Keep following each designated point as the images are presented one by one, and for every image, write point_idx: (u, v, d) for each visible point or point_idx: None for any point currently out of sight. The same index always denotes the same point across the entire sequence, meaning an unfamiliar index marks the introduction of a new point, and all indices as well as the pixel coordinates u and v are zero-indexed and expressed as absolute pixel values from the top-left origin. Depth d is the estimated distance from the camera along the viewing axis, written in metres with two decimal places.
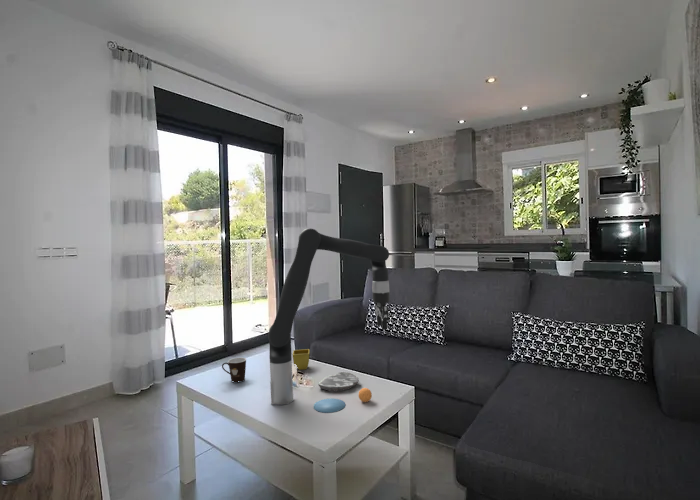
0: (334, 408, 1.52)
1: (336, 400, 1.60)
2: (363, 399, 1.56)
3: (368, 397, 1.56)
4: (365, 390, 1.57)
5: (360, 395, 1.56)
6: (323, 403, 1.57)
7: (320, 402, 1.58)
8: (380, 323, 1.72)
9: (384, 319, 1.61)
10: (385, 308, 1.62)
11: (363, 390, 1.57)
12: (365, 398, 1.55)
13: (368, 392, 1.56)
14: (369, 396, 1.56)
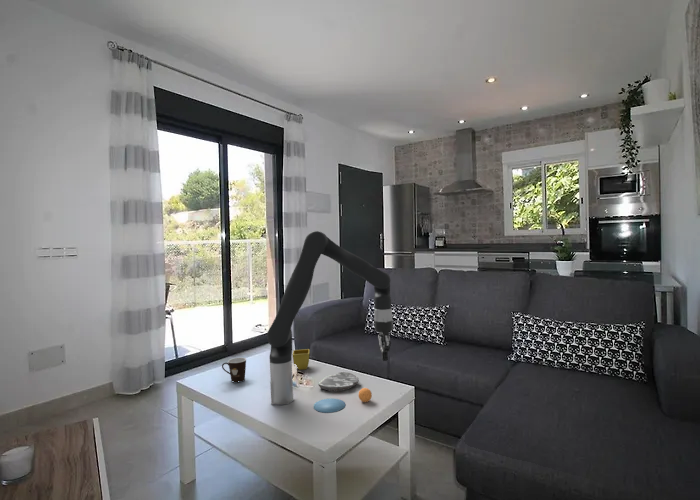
0: (334, 408, 1.52)
1: (336, 400, 1.60)
2: (363, 399, 1.56)
3: (368, 397, 1.56)
4: (365, 390, 1.57)
5: (360, 395, 1.56)
6: (323, 403, 1.57)
7: (320, 402, 1.58)
8: None
9: (384, 350, 1.56)
10: (387, 344, 1.53)
11: (363, 390, 1.57)
12: (365, 398, 1.55)
13: (368, 392, 1.56)
14: (369, 396, 1.56)
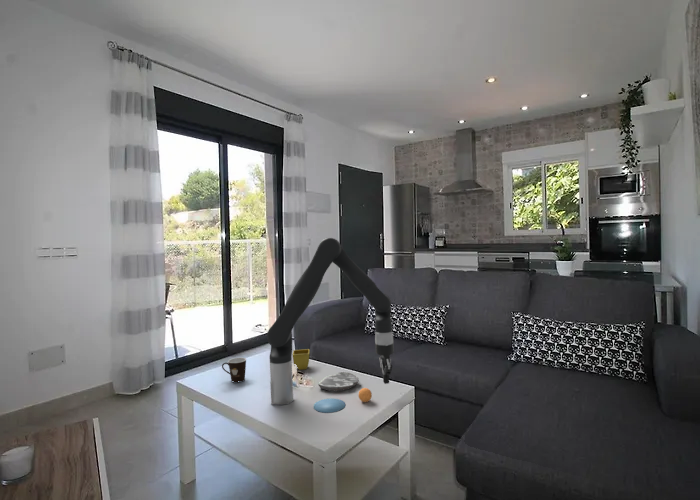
0: (334, 408, 1.52)
1: (336, 400, 1.60)
2: (363, 399, 1.56)
3: (368, 397, 1.56)
4: (365, 390, 1.57)
5: (360, 395, 1.56)
6: (323, 403, 1.57)
7: (320, 402, 1.58)
8: None
9: (386, 373, 1.56)
10: (389, 368, 1.53)
11: (363, 390, 1.57)
12: (365, 398, 1.55)
13: (368, 392, 1.56)
14: (369, 396, 1.56)
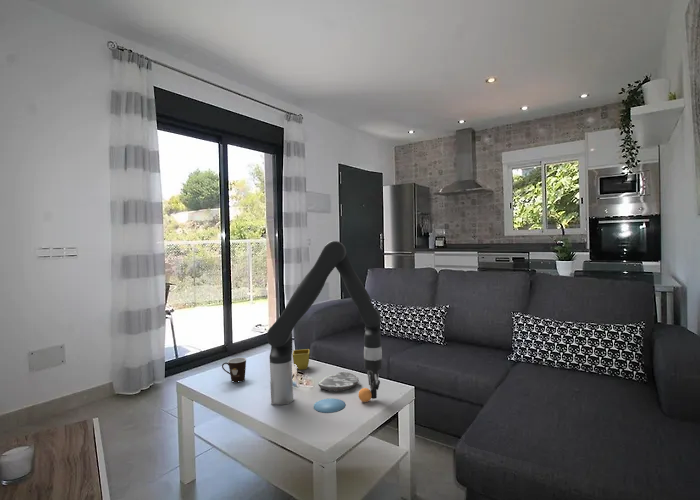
0: (334, 408, 1.52)
1: (336, 400, 1.60)
2: (363, 399, 1.56)
3: (368, 397, 1.56)
4: (365, 390, 1.57)
5: (360, 395, 1.56)
6: (323, 403, 1.57)
7: (320, 402, 1.58)
8: None
9: (373, 389, 1.56)
10: (376, 383, 1.53)
11: (363, 390, 1.57)
12: (365, 398, 1.55)
13: (368, 392, 1.56)
14: (369, 396, 1.56)
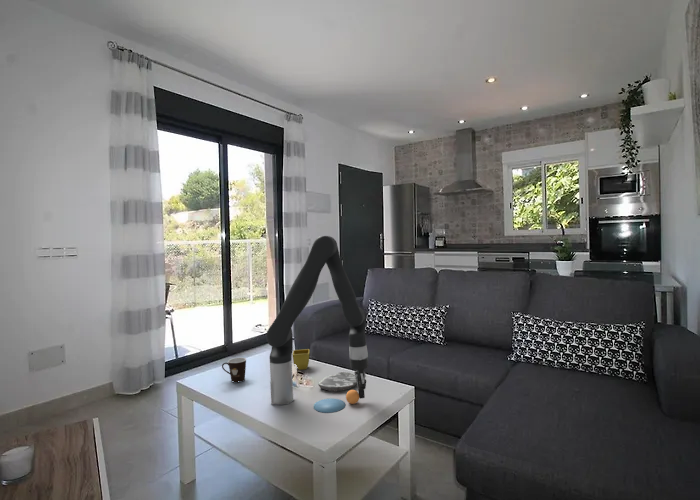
0: (334, 408, 1.52)
1: (336, 400, 1.60)
2: (355, 402, 1.55)
3: (354, 397, 1.54)
4: (347, 398, 1.55)
5: (351, 403, 1.55)
6: (323, 403, 1.57)
7: (320, 402, 1.58)
8: None
9: (360, 388, 1.54)
10: (363, 382, 1.51)
11: (347, 399, 1.55)
12: (354, 400, 1.54)
13: (349, 396, 1.54)
14: (353, 396, 1.54)
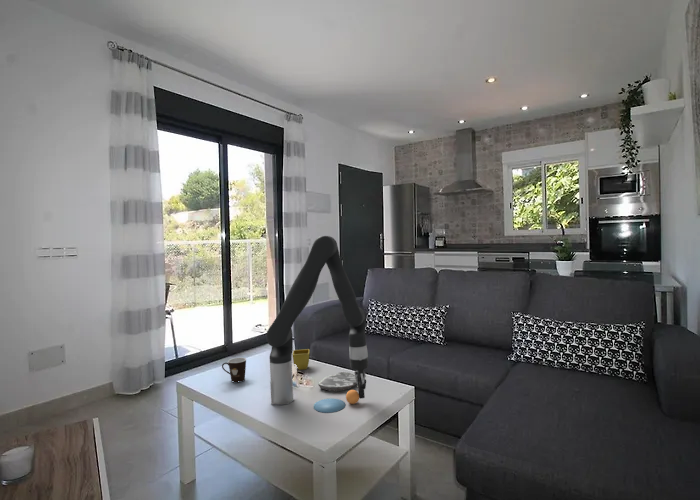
0: (334, 408, 1.52)
1: (336, 400, 1.60)
2: (355, 402, 1.55)
3: (354, 397, 1.54)
4: (347, 398, 1.55)
5: (351, 403, 1.55)
6: (323, 403, 1.57)
7: (320, 402, 1.58)
8: None
9: (360, 388, 1.54)
10: (363, 382, 1.51)
11: (347, 399, 1.55)
12: (354, 401, 1.54)
13: (349, 396, 1.54)
14: (353, 396, 1.54)
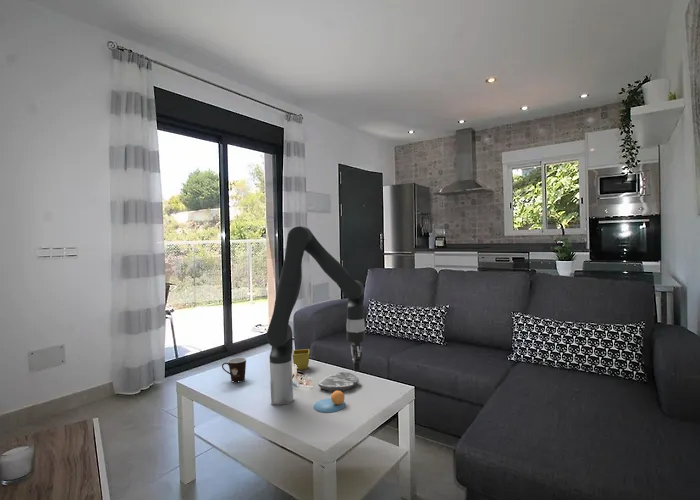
0: (334, 408, 1.52)
1: None
2: (339, 395, 1.54)
3: (336, 400, 1.54)
4: (340, 403, 1.55)
5: (343, 396, 1.55)
6: (323, 403, 1.57)
7: (320, 402, 1.58)
8: None
9: (356, 361, 1.54)
10: (358, 355, 1.51)
11: (342, 402, 1.55)
12: (338, 397, 1.54)
13: (337, 403, 1.54)
14: (335, 401, 1.54)
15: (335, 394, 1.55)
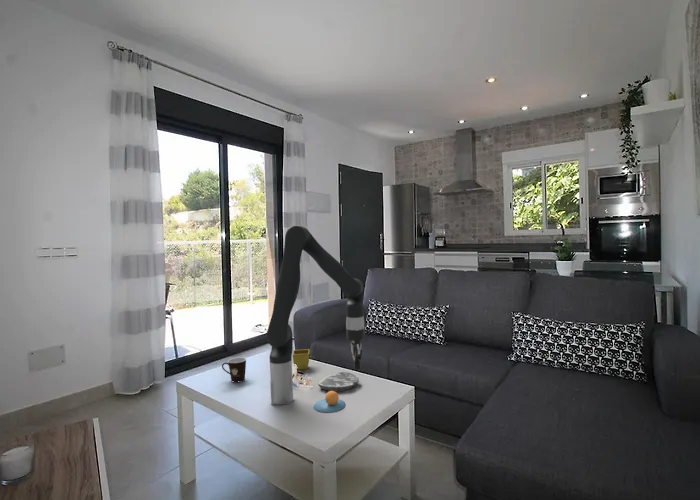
0: (334, 408, 1.52)
1: None
2: (329, 396, 1.54)
3: (330, 402, 1.54)
4: (337, 400, 1.55)
5: (333, 393, 1.55)
6: (323, 403, 1.57)
7: (320, 402, 1.58)
8: None
9: (356, 359, 1.54)
10: (358, 353, 1.51)
11: (337, 397, 1.55)
12: (330, 398, 1.54)
13: (335, 402, 1.54)
14: (331, 403, 1.54)
15: (326, 398, 1.54)
